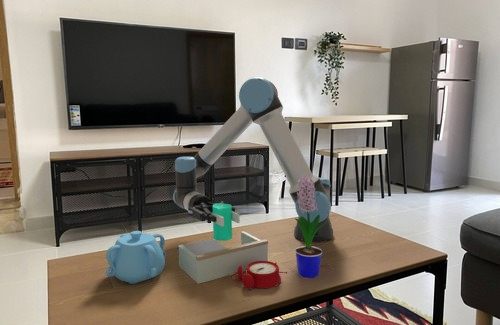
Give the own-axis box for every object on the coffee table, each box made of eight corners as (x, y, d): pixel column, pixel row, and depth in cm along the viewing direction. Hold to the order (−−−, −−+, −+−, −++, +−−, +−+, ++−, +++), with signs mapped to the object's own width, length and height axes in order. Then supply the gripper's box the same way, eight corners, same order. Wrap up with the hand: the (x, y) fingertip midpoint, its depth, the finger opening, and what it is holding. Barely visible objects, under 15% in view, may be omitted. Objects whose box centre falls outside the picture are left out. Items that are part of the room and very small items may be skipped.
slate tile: (211, 240, 142) (211, 238, 142) (230, 252, 131) (230, 250, 131) (176, 248, 135) (176, 246, 135) (192, 261, 123) (192, 259, 123)
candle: (209, 238, 119) (208, 201, 117) (223, 233, 123) (222, 197, 121) (222, 242, 115) (221, 204, 113) (236, 237, 119) (235, 200, 117)
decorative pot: (173, 265, 121) (171, 224, 119) (154, 289, 105) (152, 242, 103) (124, 263, 123) (122, 223, 121) (99, 286, 107) (96, 240, 105)
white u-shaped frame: (244, 250, 133) (244, 228, 132) (267, 264, 121) (268, 240, 120) (179, 266, 120) (178, 242, 119) (198, 284, 108) (197, 257, 107)
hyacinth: (319, 284, 107) (321, 181, 103) (288, 274, 114) (289, 176, 109) (332, 273, 114) (335, 176, 110) (302, 264, 120) (304, 172, 116)
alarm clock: (291, 272, 107) (241, 269, 101) (286, 293, 107) (237, 292, 102) (275, 258, 117) (229, 254, 111) (270, 278, 117) (224, 275, 111)
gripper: (220, 210, 138) (255, 226, 119) (174, 218, 129) (204, 238, 109) (219, 190, 137) (255, 203, 118) (173, 197, 128) (203, 213, 108)
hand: (230, 220), depth 114 cm, fingers closed on candle, 5 cm apart
